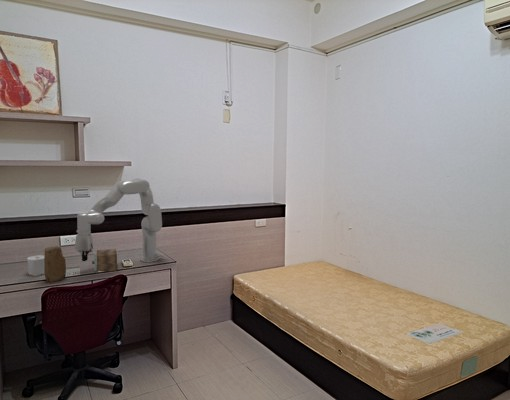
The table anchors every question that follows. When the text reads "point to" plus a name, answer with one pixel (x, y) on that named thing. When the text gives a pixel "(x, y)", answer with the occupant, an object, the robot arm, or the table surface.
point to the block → (54, 264)
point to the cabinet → (107, 260)
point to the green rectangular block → (95, 261)
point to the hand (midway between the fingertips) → (84, 260)
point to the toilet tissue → (36, 265)
